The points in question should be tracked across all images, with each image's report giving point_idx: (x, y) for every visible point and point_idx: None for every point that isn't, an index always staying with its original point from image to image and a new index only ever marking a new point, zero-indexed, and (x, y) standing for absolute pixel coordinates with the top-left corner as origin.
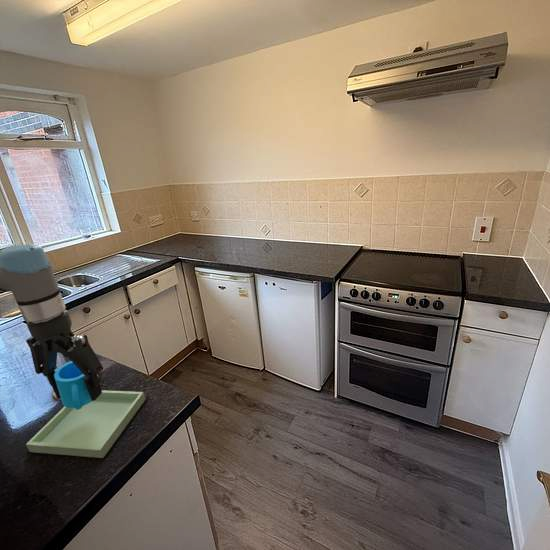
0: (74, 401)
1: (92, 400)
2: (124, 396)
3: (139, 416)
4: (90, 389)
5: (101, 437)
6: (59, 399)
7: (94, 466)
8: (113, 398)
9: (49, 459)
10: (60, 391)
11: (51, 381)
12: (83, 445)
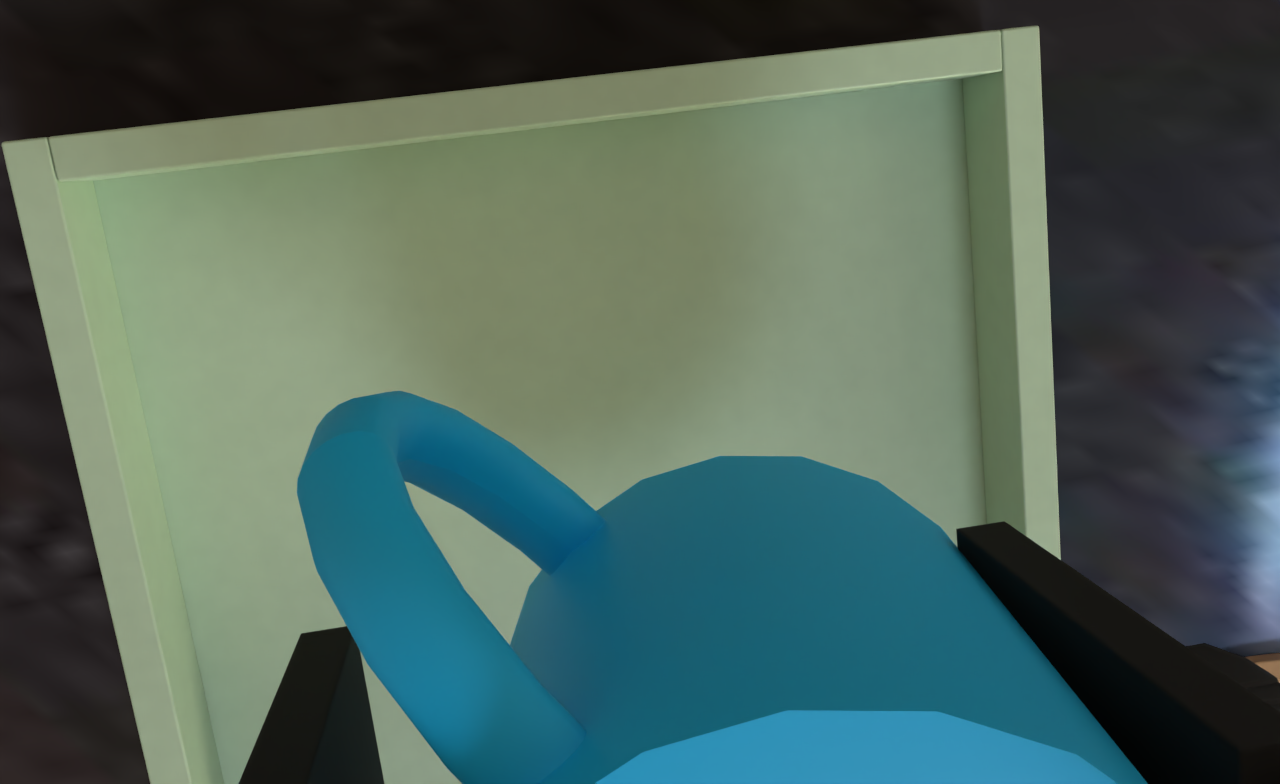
0: (333, 436)
1: (340, 627)
2: None
3: (96, 694)
4: (254, 762)
5: (288, 349)
6: (1270, 656)
7: (67, 39)
8: None
9: (677, 9)
10: (862, 567)
11: (1183, 686)
12: (411, 216)
